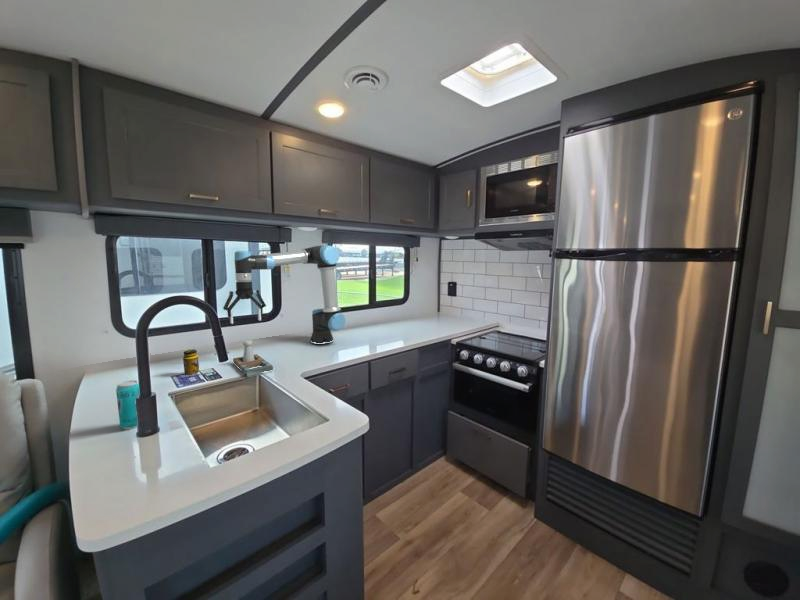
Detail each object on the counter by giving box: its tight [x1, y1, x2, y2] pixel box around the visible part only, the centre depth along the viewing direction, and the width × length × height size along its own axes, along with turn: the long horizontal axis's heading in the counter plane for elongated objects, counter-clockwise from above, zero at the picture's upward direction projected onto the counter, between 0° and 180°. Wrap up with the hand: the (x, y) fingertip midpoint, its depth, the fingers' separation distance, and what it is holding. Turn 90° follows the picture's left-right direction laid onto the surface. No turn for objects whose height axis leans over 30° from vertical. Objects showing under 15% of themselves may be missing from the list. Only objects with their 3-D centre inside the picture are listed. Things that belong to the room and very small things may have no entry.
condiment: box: [182, 349, 200, 375], centre depth 153 cm, size 7×8×12 cm
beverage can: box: [115, 380, 140, 430], centre depth 105 cm, size 6×6×15 cm
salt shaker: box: [242, 339, 255, 362], centre depth 168 cm, size 6×6×13 cm
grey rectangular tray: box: [232, 353, 274, 378], centre depth 164 cm, size 26×12×3 cm, turn 41°
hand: (246, 321), depth 166 cm, fingers open, 13 cm apart
